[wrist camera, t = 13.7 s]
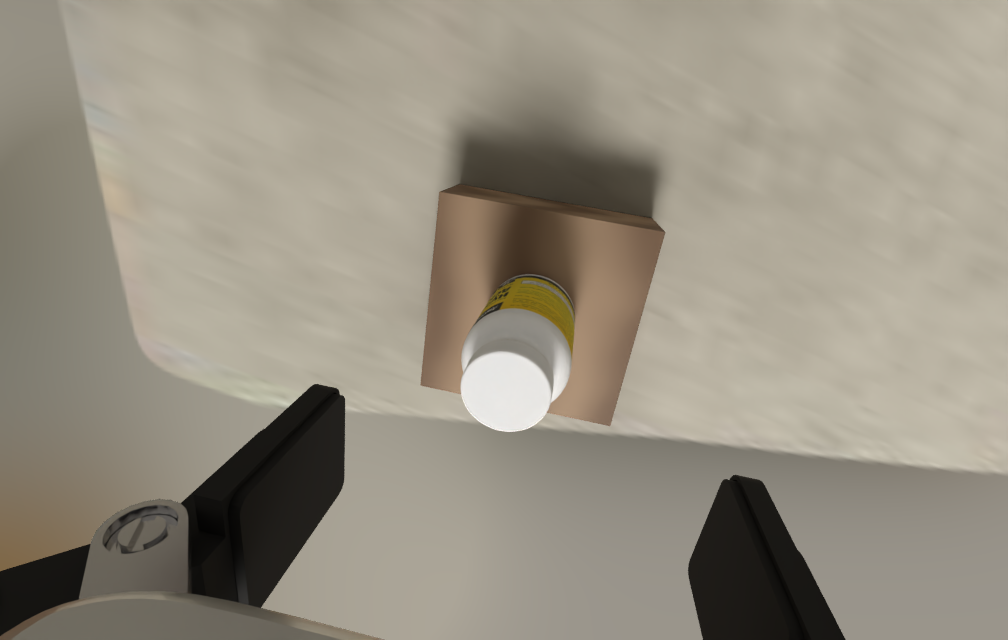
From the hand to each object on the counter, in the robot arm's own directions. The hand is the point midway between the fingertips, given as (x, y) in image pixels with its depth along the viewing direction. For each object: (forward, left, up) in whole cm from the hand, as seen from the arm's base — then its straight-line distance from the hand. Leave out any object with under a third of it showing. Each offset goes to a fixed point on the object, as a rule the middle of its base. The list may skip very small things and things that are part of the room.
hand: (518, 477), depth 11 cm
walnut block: (+1, +3, -23) cm, 23 cm away
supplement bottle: (+1, +3, -18) cm, 18 cm away
